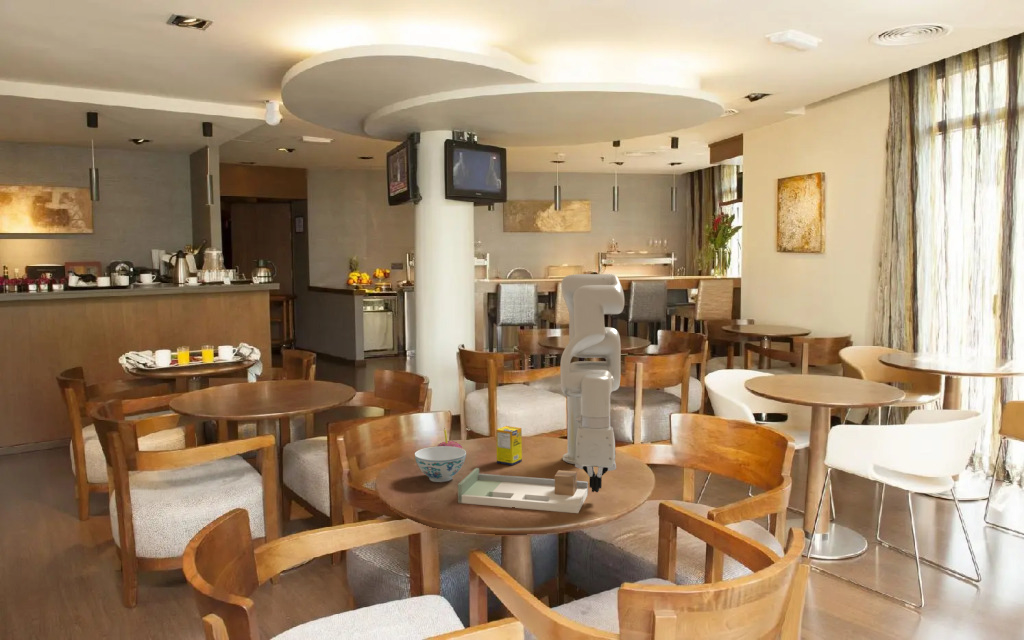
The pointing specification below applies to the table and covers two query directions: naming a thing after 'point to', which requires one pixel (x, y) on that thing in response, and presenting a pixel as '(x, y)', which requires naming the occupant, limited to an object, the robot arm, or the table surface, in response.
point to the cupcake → (449, 442)
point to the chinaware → (440, 462)
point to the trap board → (519, 492)
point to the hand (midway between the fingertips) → (595, 490)
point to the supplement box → (509, 445)
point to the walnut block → (565, 483)
